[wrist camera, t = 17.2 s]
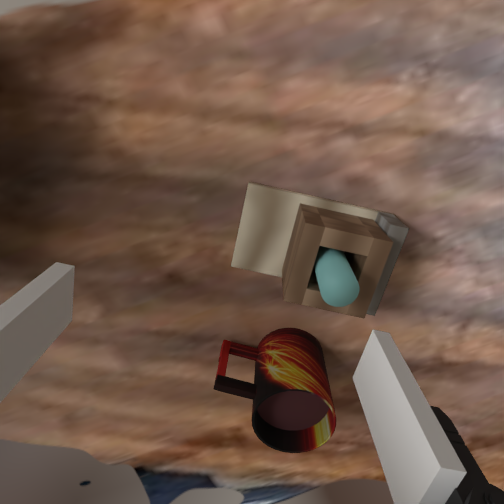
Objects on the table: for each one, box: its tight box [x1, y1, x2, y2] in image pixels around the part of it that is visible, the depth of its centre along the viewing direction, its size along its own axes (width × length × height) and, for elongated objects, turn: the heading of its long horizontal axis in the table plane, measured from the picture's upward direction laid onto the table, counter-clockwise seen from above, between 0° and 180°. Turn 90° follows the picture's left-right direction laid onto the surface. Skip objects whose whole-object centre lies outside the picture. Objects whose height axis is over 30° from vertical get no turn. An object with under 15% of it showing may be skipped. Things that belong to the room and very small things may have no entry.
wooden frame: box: [231, 182, 409, 316], centre depth 44 cm, size 18×11×6 cm, turn 78°
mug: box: [214, 328, 336, 453], centre depth 48 cm, size 10×14×12 cm
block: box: [282, 203, 393, 318], centre depth 42 cm, size 9×9×8 cm
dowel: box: [314, 246, 359, 307], centre depth 40 cm, size 4×4×12 cm
